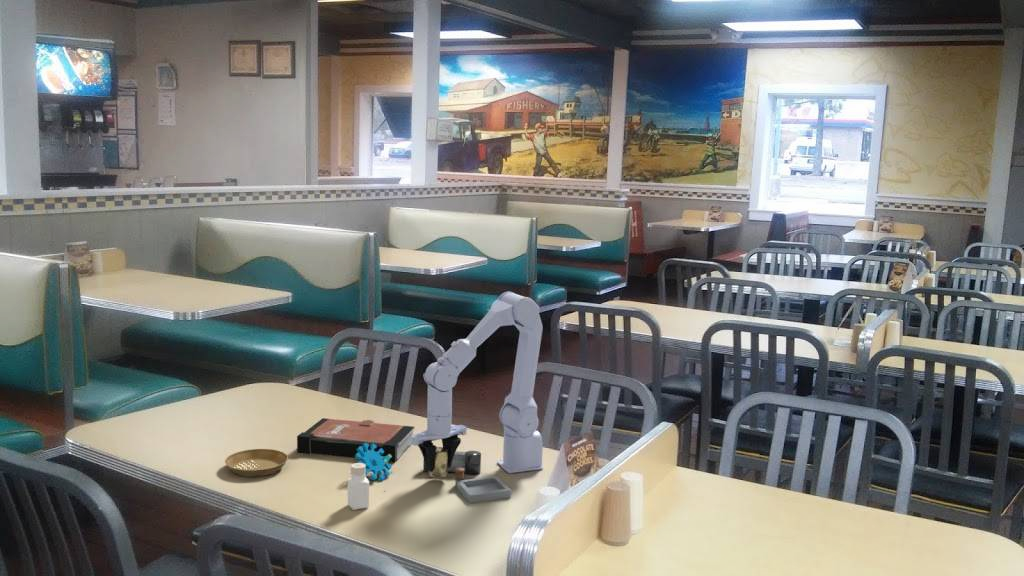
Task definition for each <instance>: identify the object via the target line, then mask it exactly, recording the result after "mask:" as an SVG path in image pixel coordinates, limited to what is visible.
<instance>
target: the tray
mask: <svg viewBox="0 0 1024 576" xmlns="http://www.w3.org/2000/svg"><path fill="white" fill-rule="evenodd" d="M456 489H457V491H459V493H460V494H462V496H463V497H464V498H465V499H466V501H467V502H468V503H469V502H470V503H469V504H472V503H473V504H474V503H481V502H488V501H496V500H503V499H509V498H512V489H511V488H509V486H507V484H506V483H504V481H502V480H501V479H500V477H498V476H497V475H493V476H486V477H477V478H470V479H469V478H468V479H464V480H461V481H457V487H456Z"/></svg>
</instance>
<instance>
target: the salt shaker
mask: <svg viewBox="0 0 1024 576" xmlns="http://www.w3.org/2000/svg"><path fill="white" fill-rule="evenodd" d="M365 474H366V465H365V464H363V463H357V462H356V463H352V464H351V465H350V475H351V476H350V477H349V478H348V479H347V505H348V507H350V508H351V510H353V511H356V510H361V509H368V508H369V506H370V480H369V479H368V478H367V477H366V475H365Z"/></svg>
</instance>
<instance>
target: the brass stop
mask: <svg viewBox="0 0 1024 576" xmlns="http://www.w3.org/2000/svg"><path fill="white" fill-rule="evenodd" d="M436 447H437V448H436V452H435V456H434V470H433V472H430V471H428V474H429V476H430V477H432V478H445V477H447V476H448V474H449V471H448V449H447V448H444V447H443V446H436Z"/></svg>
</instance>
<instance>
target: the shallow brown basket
mask: <svg viewBox="0 0 1024 576" xmlns="http://www.w3.org/2000/svg"><path fill="white" fill-rule="evenodd" d="M288 459H289V456H288V454H286V453H285V452H284V451H280V450H278V449H271V448H254V449H253V448H252V449H246V450H241V451H237V452H235V453H232V454H229V456H227V457H226V458H225V460H224V463H225V465H226V466H227V468H229V469H230V470H231V471H232V472H233V473H234V474H236V475H238V474H239V476H243V477H249V476H251V478H252V476H253V477H254V478H256V477H263V476H268V475H272V474H274V473H276V472H278V471H279V470H280V469H281V468H283V466H284V465H285V464H286V463H287V461H288ZM251 460H253V461H254V462H255V463H254V462H252V461H251ZM243 462H244V463H246V464H247V465H250V463H251V465H250V466H251V467H252V468H253V469H252V468H251V469H250V467H248V466H246V465H245V464H243ZM248 462H249V463H248ZM239 463H240V464H243V465H245V466H246V467H247V470H246V468H245V469H244V467H242V466H241V465H239ZM252 464H254V465H255V466H256V467H257V468H256V467H255V468H254V465H253V466H252ZM256 464H257V465H256ZM236 465H238V466H240V467H242V469H240V468H237V466H236ZM258 465H259V466H258ZM234 467H236V468H234Z"/></svg>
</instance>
